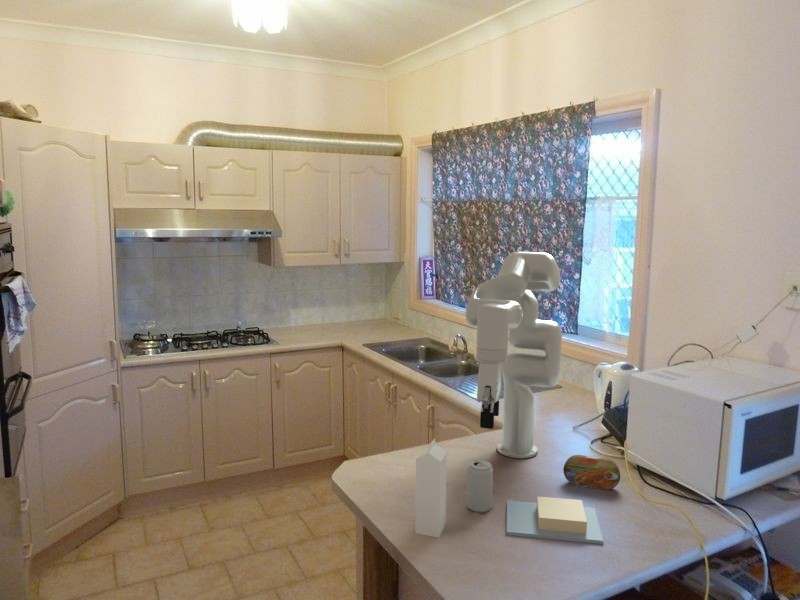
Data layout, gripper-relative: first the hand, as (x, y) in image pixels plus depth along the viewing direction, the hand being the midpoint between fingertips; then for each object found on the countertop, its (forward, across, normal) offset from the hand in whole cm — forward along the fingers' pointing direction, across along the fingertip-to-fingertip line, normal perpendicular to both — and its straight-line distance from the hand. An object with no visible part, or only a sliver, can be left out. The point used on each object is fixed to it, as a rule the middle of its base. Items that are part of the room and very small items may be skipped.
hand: (489, 421), depth 154 cm
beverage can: (+24, -2, -2) cm, 24 cm away
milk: (+24, +13, -12) cm, 30 cm away
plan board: (+24, +1, +16) cm, 29 cm away
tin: (+24, -24, +26) cm, 42 cm away
